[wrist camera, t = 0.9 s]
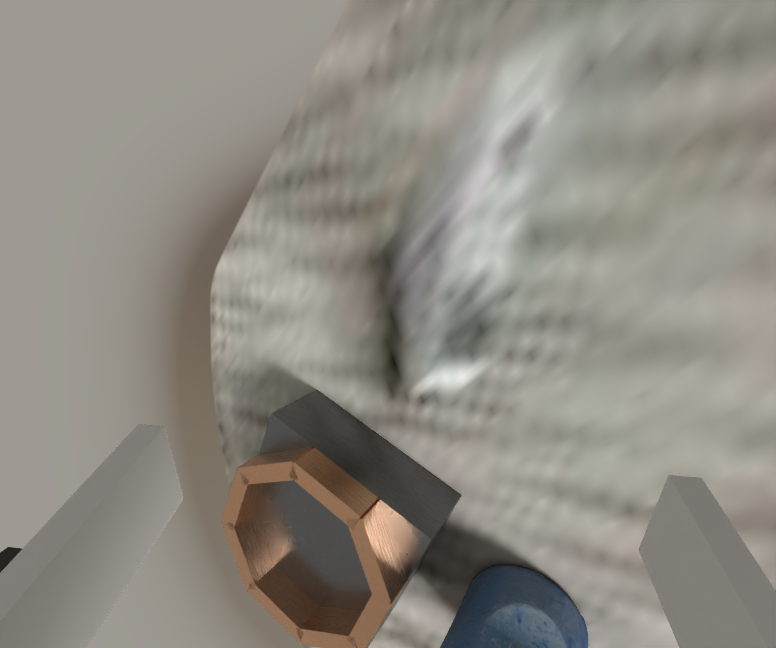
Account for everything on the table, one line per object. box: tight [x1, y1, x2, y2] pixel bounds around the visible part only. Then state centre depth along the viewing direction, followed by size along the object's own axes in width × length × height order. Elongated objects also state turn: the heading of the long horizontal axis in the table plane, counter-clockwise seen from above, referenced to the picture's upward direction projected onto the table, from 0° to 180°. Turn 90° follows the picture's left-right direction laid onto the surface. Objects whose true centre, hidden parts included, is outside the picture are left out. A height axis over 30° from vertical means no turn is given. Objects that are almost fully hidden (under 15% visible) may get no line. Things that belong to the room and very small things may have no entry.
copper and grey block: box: [222, 390, 461, 648], centre depth 40 cm, size 16×16×8 cm
